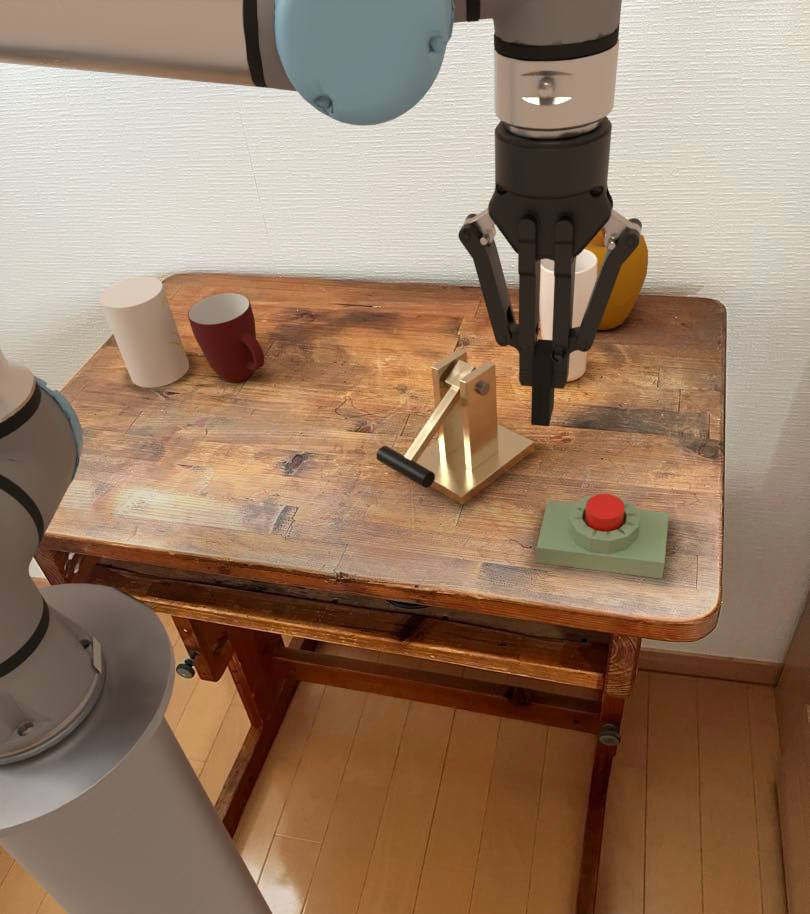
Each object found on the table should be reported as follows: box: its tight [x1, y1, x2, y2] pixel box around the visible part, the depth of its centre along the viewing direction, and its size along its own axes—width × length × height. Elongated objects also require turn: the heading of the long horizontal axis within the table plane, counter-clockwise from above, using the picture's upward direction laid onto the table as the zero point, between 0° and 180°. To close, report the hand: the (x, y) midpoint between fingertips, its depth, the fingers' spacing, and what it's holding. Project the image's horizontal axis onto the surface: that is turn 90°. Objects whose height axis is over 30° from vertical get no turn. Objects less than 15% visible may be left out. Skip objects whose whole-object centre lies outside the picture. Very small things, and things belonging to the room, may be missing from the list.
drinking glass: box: [539, 249, 598, 383], centre depth 100 cm, size 7×7×15 cm
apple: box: [585, 227, 649, 331], centre depth 108 cm, size 11×11×13 cm
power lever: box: [376, 360, 477, 489], centre depth 87 cm, size 13×7×2 cm
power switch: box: [416, 348, 535, 506], centre depth 90 cm, size 12×9×13 cm
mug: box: [187, 292, 266, 384], centre depth 109 cm, size 10×8×10 cm
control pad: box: [535, 493, 670, 579], centre depth 82 cm, size 12×7×4 cm, turn 74°
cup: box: [99, 276, 190, 389], centre depth 112 cm, size 8×8×12 cm
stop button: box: [585, 493, 625, 532], centre depth 80 cm, size 4×4×2 cm
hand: (542, 415), depth 70 cm, fingers closed
